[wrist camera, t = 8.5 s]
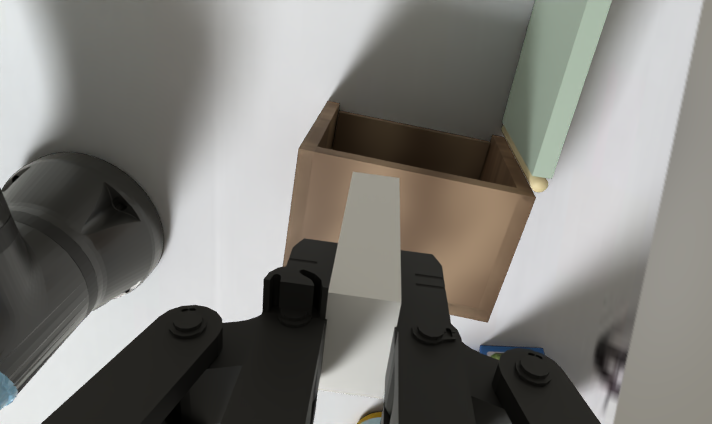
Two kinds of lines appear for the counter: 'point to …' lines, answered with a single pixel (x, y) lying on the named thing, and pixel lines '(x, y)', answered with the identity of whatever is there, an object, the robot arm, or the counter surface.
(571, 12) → the cabinet door
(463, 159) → the walnut cabinet
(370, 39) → the counter surface
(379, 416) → the bottle
